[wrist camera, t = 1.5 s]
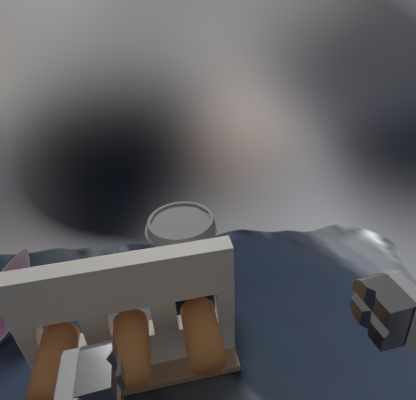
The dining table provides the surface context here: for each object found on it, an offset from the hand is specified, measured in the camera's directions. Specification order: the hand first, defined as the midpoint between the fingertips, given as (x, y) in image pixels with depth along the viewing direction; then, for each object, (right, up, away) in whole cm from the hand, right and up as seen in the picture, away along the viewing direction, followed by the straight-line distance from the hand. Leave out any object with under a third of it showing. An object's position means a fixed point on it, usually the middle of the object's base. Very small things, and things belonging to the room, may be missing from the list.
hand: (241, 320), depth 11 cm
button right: (-2, -11, +24) cm, 26 cm away
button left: (-15, -13, +22) cm, 29 cm away
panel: (-9, -15, +29) cm, 34 cm away
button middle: (-8, -12, +23) cm, 27 cm away
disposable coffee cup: (-4, -9, +39) cm, 40 cm away
